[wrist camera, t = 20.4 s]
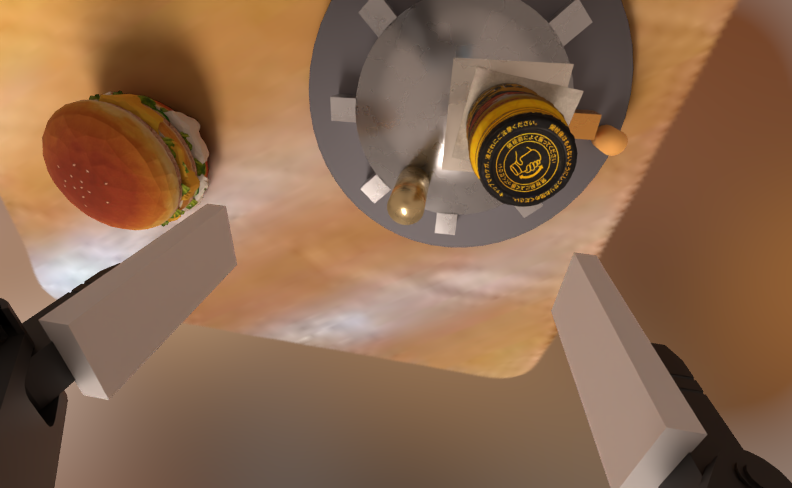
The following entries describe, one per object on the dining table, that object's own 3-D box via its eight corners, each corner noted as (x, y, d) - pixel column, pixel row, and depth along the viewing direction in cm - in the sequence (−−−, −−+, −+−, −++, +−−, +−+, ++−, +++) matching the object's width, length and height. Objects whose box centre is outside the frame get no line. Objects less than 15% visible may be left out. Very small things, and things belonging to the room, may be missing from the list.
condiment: (476, 66, 28) (486, 83, 18) (583, 90, 28) (657, 122, 18) (451, 156, 32) (448, 213, 22) (545, 178, 32) (588, 246, 21)
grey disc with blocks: (300, 145, 36) (263, 171, 29) (427, -119, 25) (416, -178, 18) (478, 260, 39) (483, 308, 32) (657, 73, 28) (721, 84, 22)
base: (314, -113, 27) (296, -132, 24) (699, -65, 25) (732, -79, 22) (311, 218, 41) (300, 232, 38) (557, 263, 39) (565, 282, 36)
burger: (81, 125, 40) (-22, 149, 31) (157, 57, 35) (59, 63, 26) (169, 223, 45) (101, 267, 36) (246, 175, 40) (188, 213, 31)
